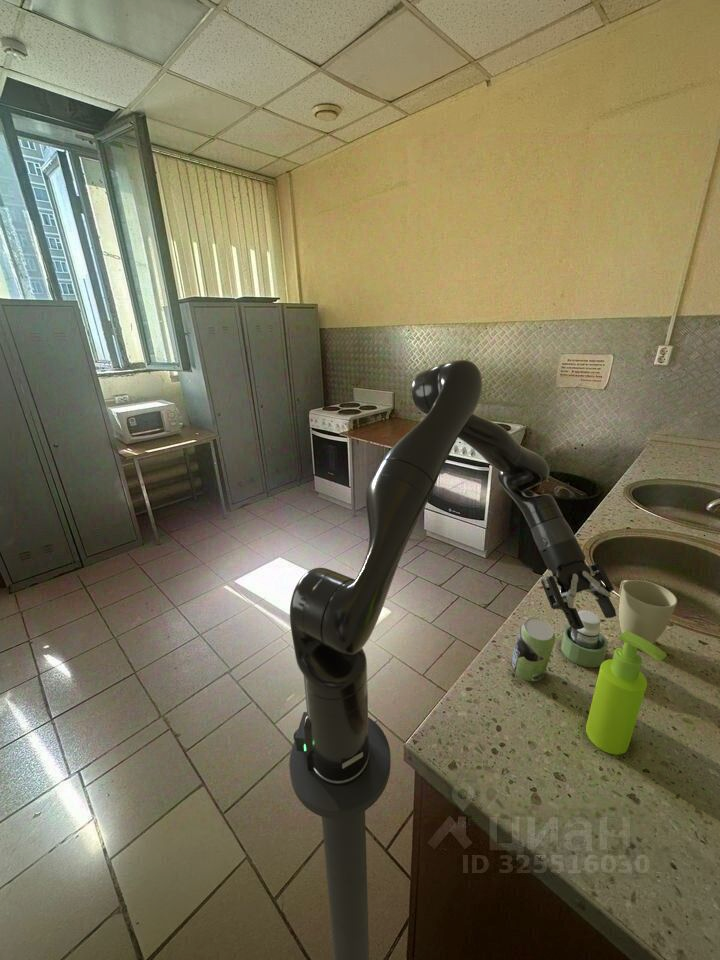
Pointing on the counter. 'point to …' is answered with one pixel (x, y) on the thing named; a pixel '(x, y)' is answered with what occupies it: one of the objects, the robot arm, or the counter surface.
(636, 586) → the mug
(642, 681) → the soap dispenser
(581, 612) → the pill bottle
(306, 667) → the robot arm
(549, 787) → the counter surface
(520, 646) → the beverage can
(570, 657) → the holder
